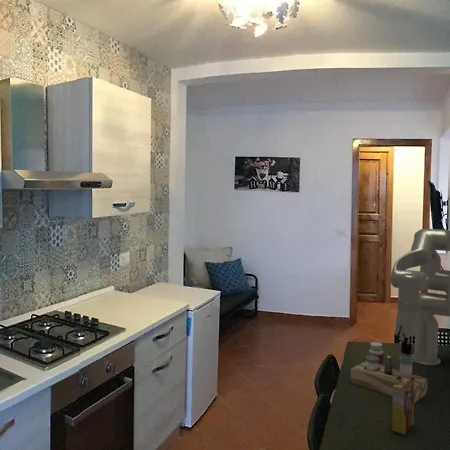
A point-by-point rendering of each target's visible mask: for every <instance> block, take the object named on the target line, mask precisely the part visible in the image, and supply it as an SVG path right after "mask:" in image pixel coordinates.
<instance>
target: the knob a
mask: <svg viewBox="0 0 450 450" xmlns="http://www.w3.org/2000/svg"><path fill="white" fill-rule="evenodd" d="M365 361H367V362H366V370H369V371H372V372H376V371H378V361H379V357H377V356H374V355H369V354H368V355H365Z"/></svg>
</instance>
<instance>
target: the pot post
mask: <svg viewBox="0 0 450 450" xmlns="http://www.w3.org/2000/svg"><path fill="white" fill-rule="evenodd" d="M384 366H385V368H384V373H385V374H387V375H392V369H394V368H393V367H394V358H393V356H392V355H389V354H386V355H385V357H384Z"/></svg>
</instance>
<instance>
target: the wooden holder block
mask: <svg viewBox="0 0 450 450" xmlns="http://www.w3.org/2000/svg"><path fill="white" fill-rule="evenodd" d="M366 362H367V360H365V361H363V362H362V363H360V364H357V365H355V366H353V367H351V368H350V384H353V385H356V386H359V387H362V388H365V389H368V390H371V391H373V392H374V391H375V392H377V393H380V394H384V395H387V396H390V397H392V398H393V386H394V385H395V384H396V383H397V382H398V381H400V379H399V377H400V369H395V368H393V369H392V375H387V374H385V373H384V368H385V365H383V366H382V365H378V371H376V372H372V371H369V370H366ZM412 380H413V381H414V404H415V403H416V402H418V401H419V400H420V399H422V398H423V397H425V396H426V395H427V394H428V378H426V377H423V376H420V375H416V374H413V373H412Z"/></svg>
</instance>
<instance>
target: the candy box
mask: <svg viewBox="0 0 450 450" xmlns="http://www.w3.org/2000/svg"><path fill="white" fill-rule="evenodd" d="M414 404H415V403H414V381H413V380H410V379H405V378H402V379H401V380H400V381H398V382H397V383H396V384H395V385H394V386H393V397H392V415H391V416H392V422H391V423H392V424H391V425H392V426H391V427H392V428H391V430H392V432H395V433H399V434H401V435H405V434H406V433H407V432H408V431H409V430H410V428H411V427H412V426H413V425H414V413H415V412H414V407H415V405H414Z"/></svg>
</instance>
